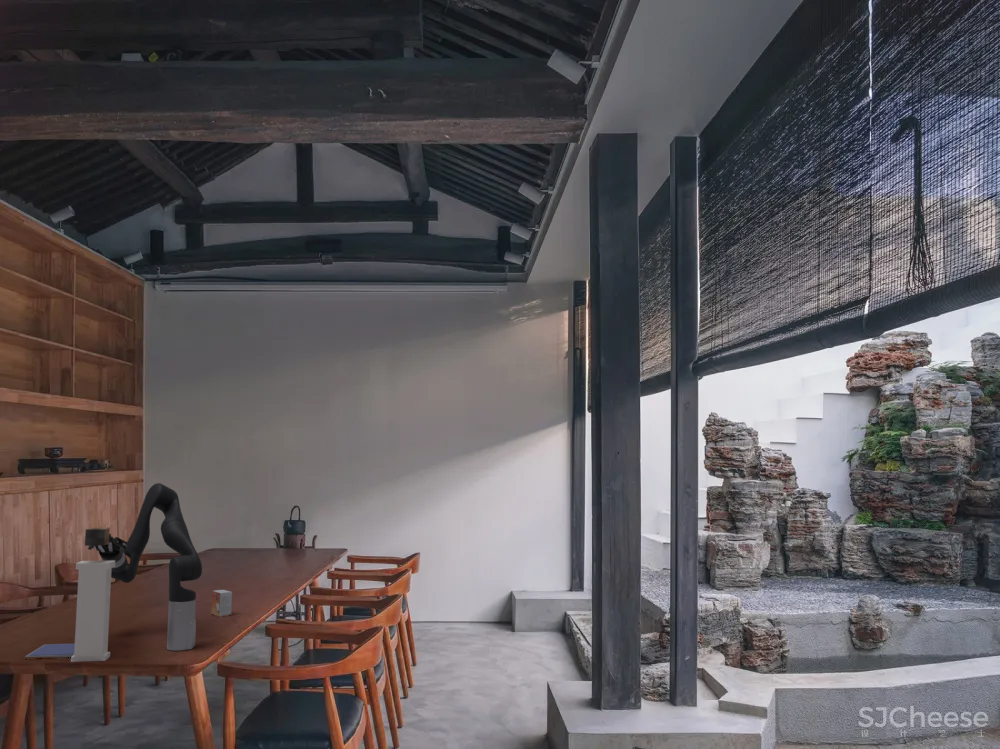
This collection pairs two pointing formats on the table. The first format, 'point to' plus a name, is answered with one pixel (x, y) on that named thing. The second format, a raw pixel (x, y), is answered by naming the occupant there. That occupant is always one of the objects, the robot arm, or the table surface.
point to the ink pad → (53, 651)
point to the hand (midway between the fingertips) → (101, 535)
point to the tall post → (92, 611)
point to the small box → (221, 602)
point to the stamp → (97, 536)
